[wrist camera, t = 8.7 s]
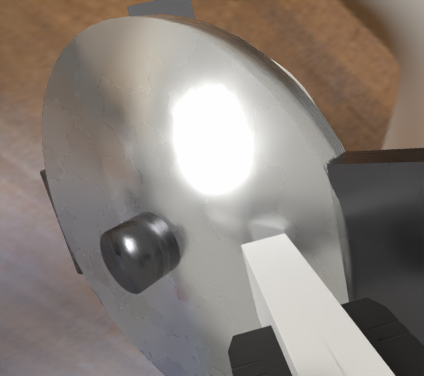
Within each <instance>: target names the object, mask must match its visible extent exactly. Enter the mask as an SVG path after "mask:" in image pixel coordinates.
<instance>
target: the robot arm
mask: <svg viewBox="0 0 424 376" xmlns="http://www.w3.org/2000/svg"><path fill="white" fill-rule="evenodd" d="M241 247H242V252H243V256H244V260H245V264H246V268H247V273H248V277H249V281H250V285H251V289H252V294H253V298H254V302H255V306H256V310H257V315H258V318H259V321H260V323H261V326H262V328H259V329H255V330H252V331H248V332H245V333H241V334H237V335H234V336H233V337H232V340H231V343H230V346H229V349H228V355H229V360H230V365H231V369H232V374H233V376H424V345H423V344H422V343H421V342H420V341H419V340H418V339H417V338H416V337H415V336H414V335H413V334H411V333H410V331H409V330H408V329H407V328H406V327H405V326H404V325H403V324H402V323H400V322H399V320H398V319H397V318H396V317H395V315H394V314H393V313H392V312H391V311H390V310H389V309H388V308H387V307H386V306H384V305H382V304H380V303H378V302H376V301H373V300H371V299H369V298H367V297H366V298H363V299H359V300H355V301H352V302H348V303H344V304H341V305H340V304H339V302H338V301H337V300H336V299H335V297H334V296H333V295H332V293H331V292H330V291H329V289H328V288H327V287H326V286H325V284H324V283H323V282H322V280H321V279H320V278H319V277H318V275H317V274H316V273H315V271H314V270H313V269H312V268H311V266H310V265H309V264H308V262H307V261H306V260H305V258H304V257H303V256H302V255H301V253H300V252H299V251H298V249H297V248H296V247H295V246H294V244H293V243H292V242H291V240H290V239H289V238H288V237H287V235H286V234H285V233H284V234H280V235H276V236H273V237H269V238H265V239H261V240H258V241H254V242H250V243H246V244H243V245H241Z"/></svg>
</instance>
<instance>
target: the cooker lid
mask: <svg viewBox="0 0 424 376" xmlns="http://www.w3.org/2000/svg"><path fill="white" fill-rule="evenodd" d="M42 147H43V157H44V164H45V169H44V170H42V171H40V174H41V177H42V180H43V182H44V185H45V188H46V190H47V193H48V196H49V198H50V201H51V204H52V206H53V209H54V212H55V214H56V217H57V220H58V222H59V225H60V228H61V230H62V233H63V236H64V238H65V241H66V244H67V246H68V249H69V252H70V254H71V257H72V260H73V262H74V265H75V268H76V270H77V273H78V274H84V276H85V278H86V280H87V281H88V283H89V285H90V286H91V288H92V290H93V291H94V293H95V295H96V296H97V298H98V299H99V301H100V302H101V304H102V305H103V307H104V308H105V310H106V311H107V312H108V314H109V315H110V316H111V318H112V319H113V320H114V322H115V323H116V324H117V326H118V327H119V328H120V329H121V331H122V332H123V333H124V334H125V335H126V337H127V338H128V339H129V340H130V341H131V342H132V344H133V345H134V346H135V347H136V348H137V349H138V350H139V351H140V352H141V353H142V354H143V355H144V356H145V357H146V358H147V359H148V360H149V361H150V362H151V363H152V364H153V365H154V366H155V367H156V368H157V369H158V370H160V371H161V372H162V373H163V374H164V375H166V376H233V374H232V369H231V365H230V360H229V355H228V349H229V346H230V343H231V340H232V337H233V336H234V335H237V334H241V333H245V332H248V331H252V330H255V329H259V328H262V326H261V323H260V321H259V318H258V315H257V310H256V306H255V302H254V298H253V294H252V289H251V285H250V281H249V277H248V273H247V268H246V264H245V260H244V256H243V252H242V247H241V245H243V244H246V243H250V242H254V241H258V240H261V239H265V238H269V237H273V236H276V235H280V234H284V233H285V234H286V235H287V237H288V238H289V239H290V240H291V242H292V243H293V244H294V246H295V247H296V248H297V249H298V251H299V252H300V253H301V255H302V256H303V257H304V258H305V260H306V261H307V262H308V264H309V265H310V266H311V268H312V269H313V270H314V271H315V273H316V274H317V275H318V277H319V278H320V279H321V280H322V282H323V283H324V284H325V286H326V287H327V288H328V289H329V291H330V292H331V293H332V295H333V296H334V297H335V299H336V300H337V301H338V302H339V304H340V305H341V304H344V303H348V302H352V301H355V300H359V299H363V298H366V297H367V298H369V299H371V300H373V301H376V302H378V303H380V304H382V305H384V306H386V307H387V308H388V309H389V310H390V311H391V312H392V313H393V314H394V315H395V317H396V318H397V319H398V320H399V322H400V323H402V324H403V325H404V326H405V327H406V328H407V329H408V330H409V331H410V333H411V334H413V335H414V336H415V337H416V338H417V339H418V340H419V341H420V342H421V343H422V344H423V345H424V148H410V149H391V150H370V151H350V152H346V151H345V149H344V147H343V145H342V143H341V141H340V140H339V138H338V137H337V135H336V134H335V132H334V131H333V129H332V128H331V126H330V125H329V123H328V122H327V120H326V119H325V117H324V116H323V114H322V113H321V111H320V110H319V109H318V108H317V106H316V105H315V104H314V103H313V102H312V100H311V99H310V98H309V97H308V96H307V95H306V93H305V92H304V91H303V90H302V89H301V88H300V86H299V85H298V84H297V83H296V82H295V81H294V80H293V79H292V78H291V77H290V76H289V75H288V74H287V73H286V72H284V71H283V70H282V69H281V68H280V67H279V66H278V65H277V64H276V63H275V62H273V61H272V60H271V59H270V58H269V57H268V56H267V55H265V54H264V53H262V52H261V51H259V50H258V49H256V48H255V47H253V46H252V45H251V44H249V43H248V42H246V41H245V40H243V39H242V38H240V37H239V36H236V35H234V34H232V33H230V32H228V31H226V30H224V29H222V28H220V27H218V26H216V25H214V24H211V23H208V22H204V21H201V20H197V19H194V18H190V17H187V16H177V15H167V14H157V15H144V16H131V17H122V18H113V19H107V20H105V21H102V22H99V23H97V24H94V25H91V26H90V27H88V28H87V29H85V30H84V31H82V32H81V33H79V34H78V35H76V36H75V37H74V38H73V39H72V41H71V42H70V43H69V44H68V45H67V46H66V47H65V48H64V49H63V51H62V53H61V54H60V56H59V58H58V59H57V61H56V63H55V65H54V67H53V70H52V72H51V75H50V77H49V80H48V84H47V88H46V92H45V96H44V103H43V111H42Z"/></svg>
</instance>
